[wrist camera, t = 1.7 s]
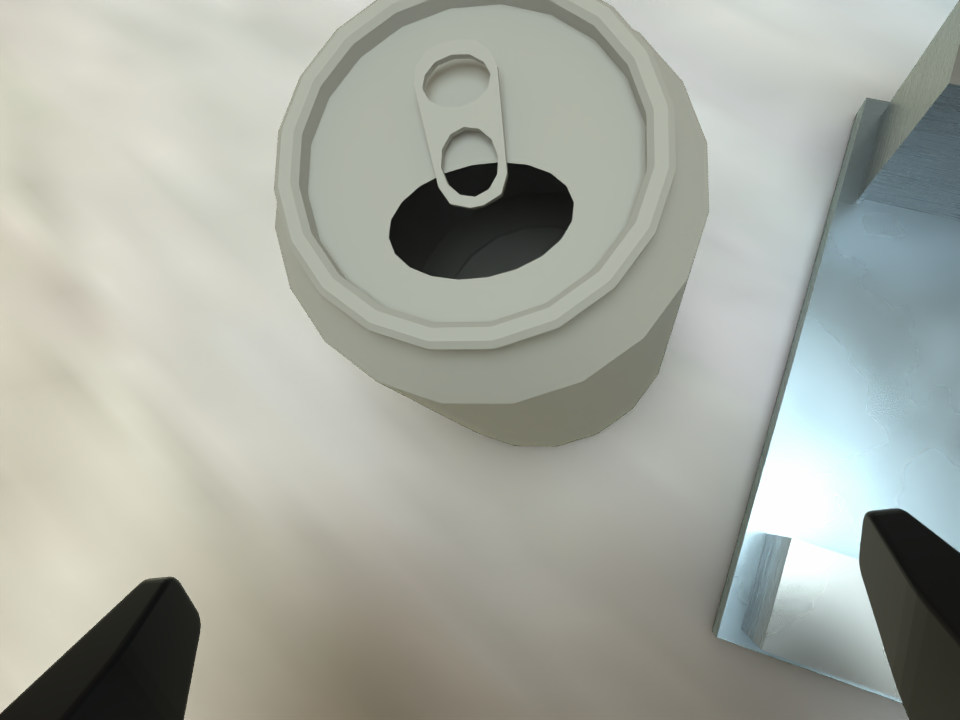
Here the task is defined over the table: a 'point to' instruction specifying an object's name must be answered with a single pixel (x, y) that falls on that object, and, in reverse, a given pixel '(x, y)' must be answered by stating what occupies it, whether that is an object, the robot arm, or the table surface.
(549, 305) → the can
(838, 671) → the vise
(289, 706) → the table surface
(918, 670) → the robot arm
